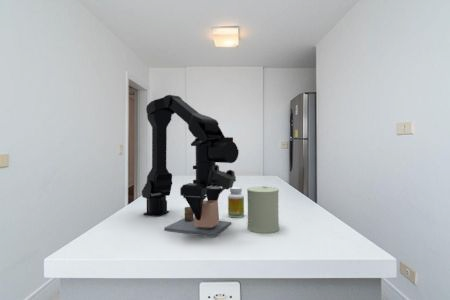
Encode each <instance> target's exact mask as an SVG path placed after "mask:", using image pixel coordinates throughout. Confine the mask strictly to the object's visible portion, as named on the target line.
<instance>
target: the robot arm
mask: <svg viewBox="0 0 450 300" xmlns="http://www.w3.org/2000/svg"><path fill="white" fill-rule="evenodd" d="M145 110H146V115H147V116H146V117H147V118H146V119H147V121H148V122H149V124H150V126H151V135H152V137H151V169H150V171H149V172H148V174H147V177H146V183H145V184H144V186H143V188H142V190H141V196H142V198H144V199H146V212H143V215H146V216H154V217H160V216H163V215H164V214H167V213H169V212H170V211H169V210H168V200H167V196H168V197H169V196H170V195H171V192H172V191H171V190H172V186H173V173H172V172H170V171H169V170H168V168H167V150H168V149H167V145H168V144H167V141H168V137H167V135H168V134H167V132H168V131H167V128H168V126H169V124H171V123H170V122H171V121H172V116H173V115H174V114H176V115H177V116H178V117H179V118H180V119H182V120H183V121H184V123H186V124H187V126H188V128H187V129H188V131H189V132H190V133H191V134H192V136H193V137H194V138H195V139H194V141H192V142H191V143H190V146H191V147H195V165H192V170H195V179H193V180H192V183H191V182H189V183H185V184H183V185H181V187H180V190H179V191H180V194H179V195H180V196H183V199H185V201H186V203H188V207H191V209H192V211H193V213H194V215H195V217H196V219H197V220H201V214H202V204H203V201H205V200H206V198H207V200H206V201H213V200H218V201H219V198H220V194H222V193H223V192H224V190H230V188H232V187H234V183H235V182H236V181H237V179H236V178H237V177H236V175H235V170H231V169H227V171H226V172H225V171H221V170H220V165H218V164H216V163H221V164H233V163H235V162H236V161H237V160H238V159H239V153H240V152H239V151H240V150H239V149H238V146H237V144H236V143H235V141H234V137H230V136H227V137H226V136H225V135H224V132H222V129H221V128H220V126H219V122H218V120H217V119H215V118H212V117H211V116H208V115H205V114H202V113H199V112H198V111H197V110H196V109H195V108H193V107H192V106H190V105H189V104H188V103H187V102H185V101H184V100H183V98H182V97H180V96H179V95H172V94H167V95H165V96H163V97H160V98H157V99H154V100H152V101H150V102H149V103H148V104H147V105H146V109H145Z"/></svg>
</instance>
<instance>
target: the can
mask: <svg viewBox="0 0 450 300" xmlns="http://www.w3.org/2000/svg"><path fill="white" fill-rule="evenodd" d="M246 190H247V230H248V231H250V232H252V231H253V232H252V233H256V234H257V233H258V234H273V233H276V232H278V231H279V230H280V226H279V225H280V224H279V223H280V222H279V188H276V187H272V186H253V187H248V188H247V189H246Z"/></svg>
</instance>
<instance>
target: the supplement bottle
mask: <svg viewBox="0 0 450 300" xmlns="http://www.w3.org/2000/svg"><path fill="white" fill-rule="evenodd" d="M242 189H243V188H242V187H239V186H232V188H229V192H230V193H229V194H228V196H227V204H228V205H227V212H228V215H227V216H228V217H230V218H234V219H237V218H238V219H239V218H243V217H244V216H245V198H244V196H245V195H244V194H243V192H242V191H243V190H242Z"/></svg>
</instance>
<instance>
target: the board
mask: <svg viewBox="0 0 450 300" xmlns="http://www.w3.org/2000/svg"><path fill="white" fill-rule="evenodd" d="M230 226H232V221H226V220H225V221H224V220H219V224H217V225H215V226H214V227H213V228H211V229H200V228H199V227H195V218H194V221H191V222H186V221H185V217H183V218H181V219H179V220H177V221H175V222H173V223H171V224H168V225H167V226H165V227H163V229H164V231H167V232H172V233H182V234H188V235H195V236H204V237H211V238H216V237H217V236H219V234H221V233H222V232H223V231H225V230H227V228H229V227H230Z"/></svg>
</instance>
